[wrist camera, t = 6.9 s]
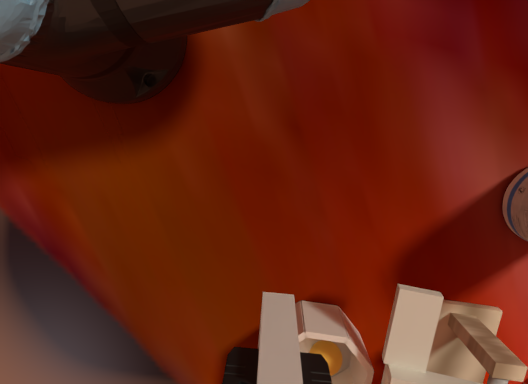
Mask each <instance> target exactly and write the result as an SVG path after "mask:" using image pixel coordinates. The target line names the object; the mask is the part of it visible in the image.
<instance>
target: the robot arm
mask: <svg viewBox="0 0 528 384" xmlns="http://www.w3.org/2000/svg"><path fill="white" fill-rule="evenodd" d="M308 1H310V0H0V63H1V64H6V65H11V66H16V67H21V68H26V69H31V70H36V71H41V72H46V73H51V74H56V75H60V76H61V77H62V78H63V79H64V80H65V81H66V82H67V83H68V84H69V85H71V86H72V87H73V88H74V89H76V90H77V91H79V92H81V93H82V94H84V95H86V96H89V97H91V98H93V99H96V100H100V101H104V102H110V103H119V104H128V103H136V102H140V101H143V100H146V99H148V98H150V97H153V96H154V95H156V94H157V93H159V92H160V91H162V90H163V89H164V88H165V87H166V86H167V85H168V84H169V83H170V82H171V81H172V79H173V78H174V77H175V75H176V74H177V72H178V70H179V68H180V66H181V64H182V61H183V58H184V55H185V50H186V44H187V35H191V34H195V33H200V32H204V31H208V30H213V29H217V28H222V27H226V26H231V25H235V24H239V23H244V22H248V21H253V20H254V21H263V20H264V19H268V18H269V17H270V16H271V15H273V14H277V13H280V12H284V11H287V10H291V9H294V8H298V7H301V6H303V5H304V4H305V3H307V2H308ZM222 384H332V380H331V376H330V371H329V366H328V363H327V361H326V360H325V359H324V357H323V356H322V355H321V354H314V353H303V352H300V349H299V339H298V329H297V319H296V309H295V299H294V295H291V294H280V293H270V292H263V297H262V308H261V319H260V329H259V340H258V349H251V348H241V347H234V348H233V349H232V351H231V352H230V353H229V354H228V357H227V362H226V367H225V373H224V378H223V383H222Z"/></svg>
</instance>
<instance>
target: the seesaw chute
mask: <svg viewBox="0 0 528 384" xmlns="http://www.w3.org/2000/svg"><path fill="white" fill-rule="evenodd" d="M443 299H444V297H443V295H442V294H441V292H438V291H432V290H427V289H422V288H417V287H412V286H407V285H402V284H398V285H397V289H396V294H395V298H394V303H393V308H392V312H391V317H390V321H389V326H388V330H387V335H386V339H385V344H384V349H383V353H382V359H383V363H385V368H384V372H383V377H382V381H381V384H482V383H477V382H473V381H469V380H464V379H460V378H455V377H451V376H447V375H442V374H438V373H434V372H429V371H426V368H427V364H428V360H429V356H430V352H431V348H432V344H433V340H434V336H435V332H436V328H437V324H438V319H439V315H440V311H441V307H442V303H443ZM508 381H509V380H506V379H499V378H492V377H491V376H490V375H489V378H488V382H487V384H508Z"/></svg>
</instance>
